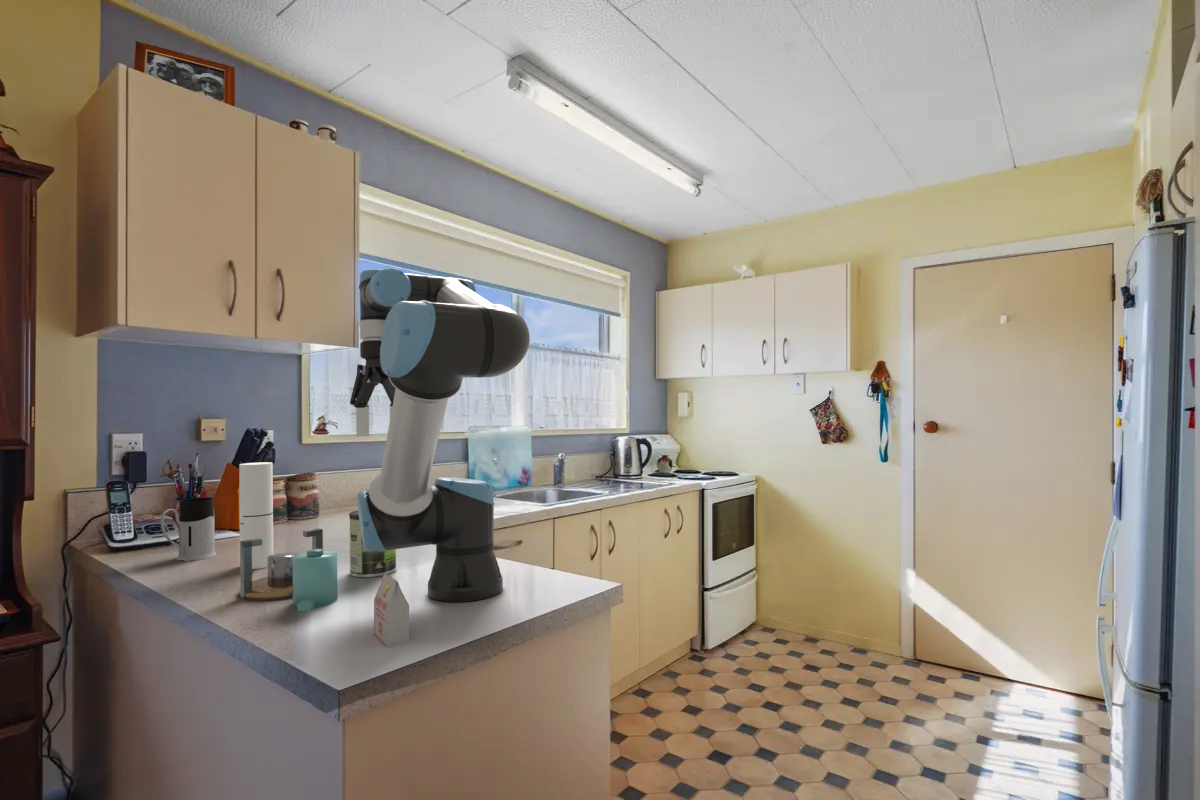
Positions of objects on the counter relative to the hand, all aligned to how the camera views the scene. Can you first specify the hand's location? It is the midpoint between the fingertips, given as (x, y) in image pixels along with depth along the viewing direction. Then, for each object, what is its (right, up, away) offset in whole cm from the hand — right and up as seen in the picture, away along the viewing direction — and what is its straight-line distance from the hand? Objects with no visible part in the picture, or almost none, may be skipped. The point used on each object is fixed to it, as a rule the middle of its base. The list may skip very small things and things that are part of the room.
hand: (379, 436), depth 136 cm
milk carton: (+15, -31, -35) cm, 49 cm away
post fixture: (-18, -32, -6) cm, 37 cm away
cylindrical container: (-35, -33, +14) cm, 50 cm away
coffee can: (-4, -32, +7) cm, 33 cm away
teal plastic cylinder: (-7, -32, -15) cm, 36 cm away
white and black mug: (-57, -33, +22) cm, 70 cm away
